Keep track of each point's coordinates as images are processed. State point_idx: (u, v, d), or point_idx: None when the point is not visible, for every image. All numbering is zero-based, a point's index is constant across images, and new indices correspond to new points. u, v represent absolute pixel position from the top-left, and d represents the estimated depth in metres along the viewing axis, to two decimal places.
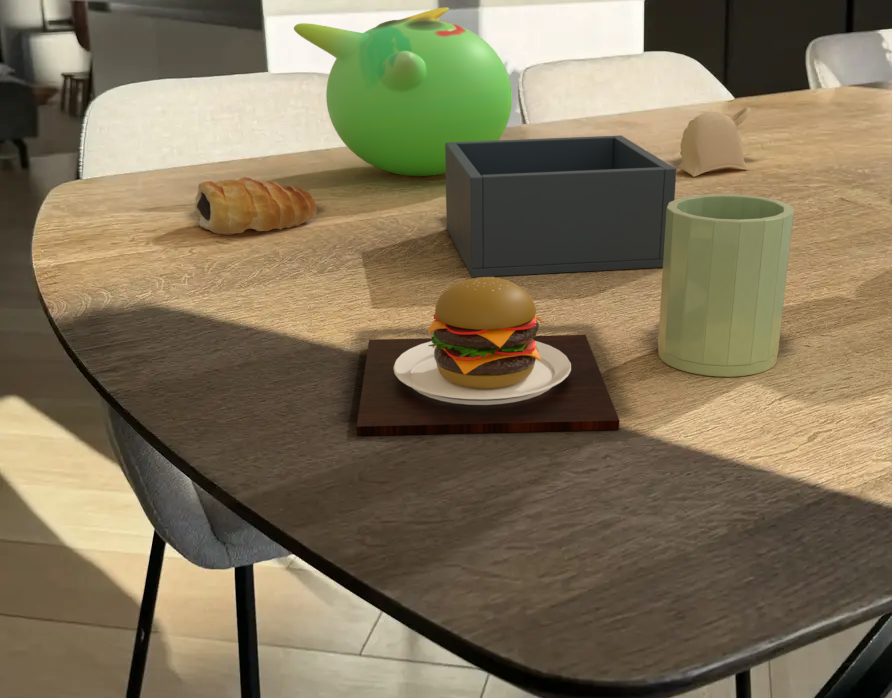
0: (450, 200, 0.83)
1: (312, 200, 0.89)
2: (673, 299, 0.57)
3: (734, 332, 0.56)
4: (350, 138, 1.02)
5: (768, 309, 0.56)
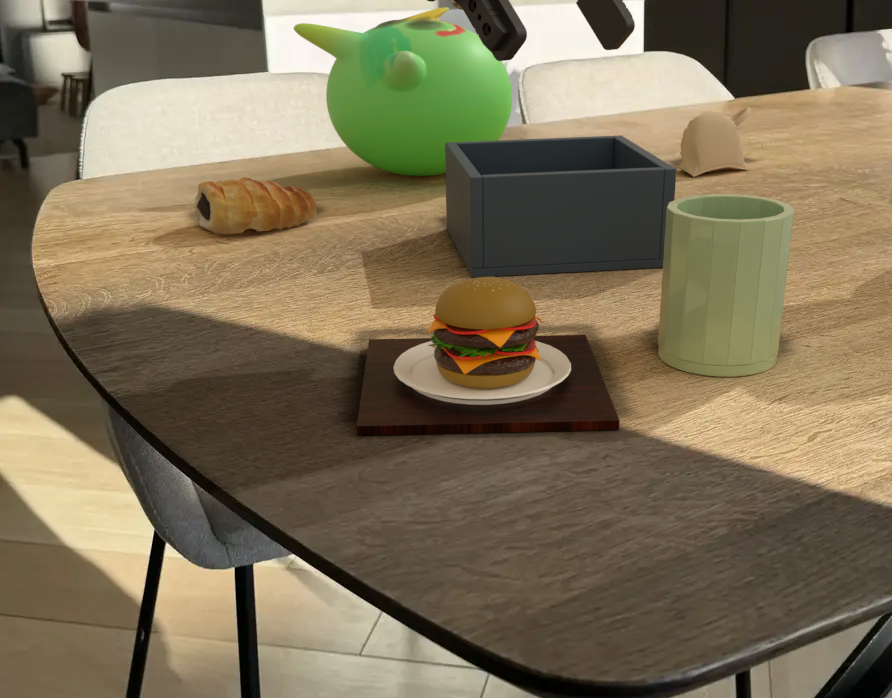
0: (450, 200, 0.83)
1: (312, 200, 0.89)
2: (673, 299, 0.57)
3: (734, 332, 0.56)
4: (350, 138, 1.02)
5: (768, 309, 0.56)
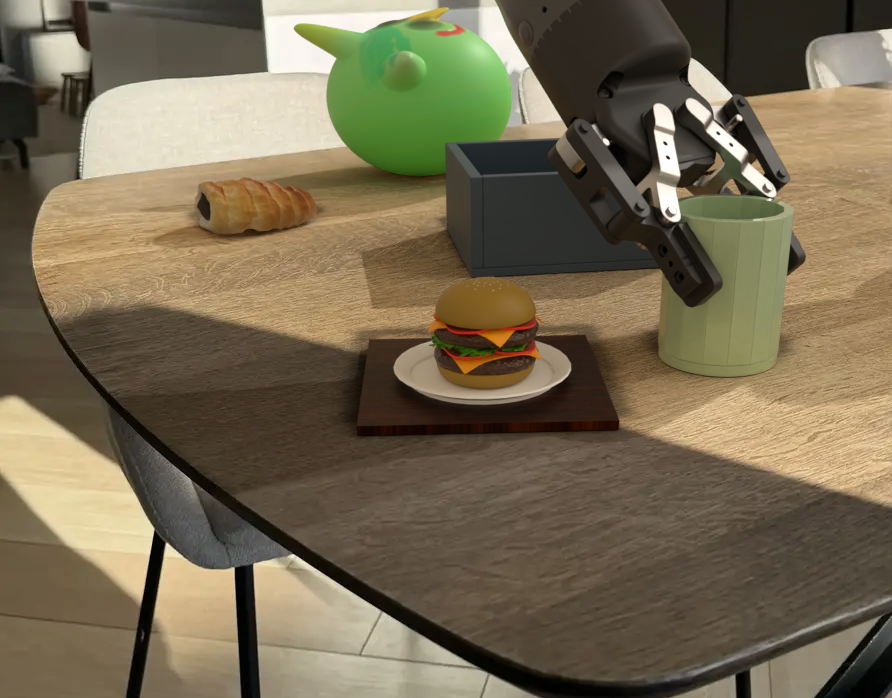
0: (450, 200, 0.83)
1: (312, 200, 0.89)
2: (673, 299, 0.57)
3: (733, 332, 0.56)
4: (350, 138, 1.02)
5: (768, 309, 0.56)
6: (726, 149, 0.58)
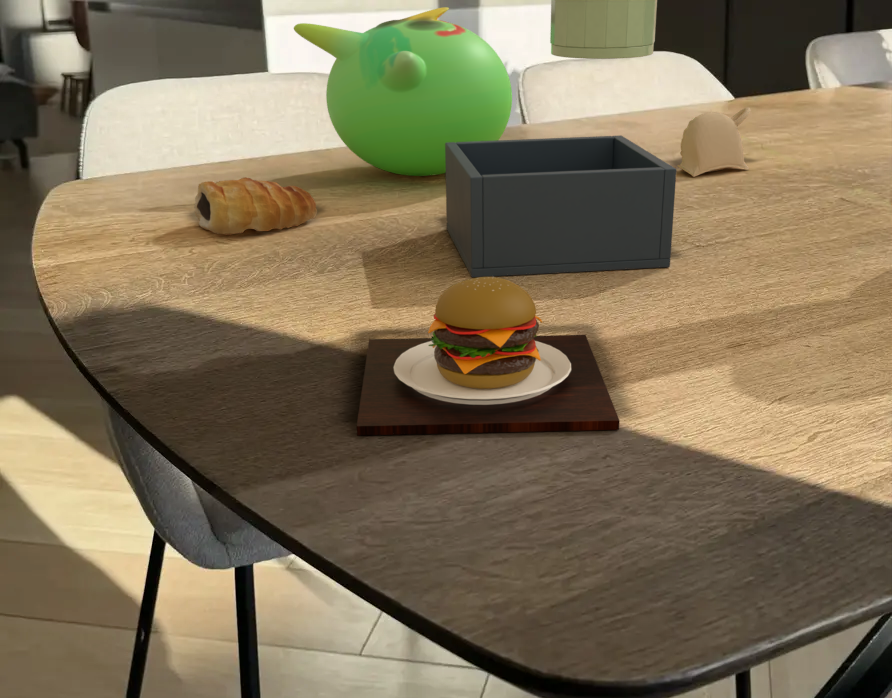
0: (450, 200, 0.83)
1: (312, 200, 0.89)
2: None
3: (610, 15, 0.64)
4: (350, 138, 1.02)
5: None
6: None
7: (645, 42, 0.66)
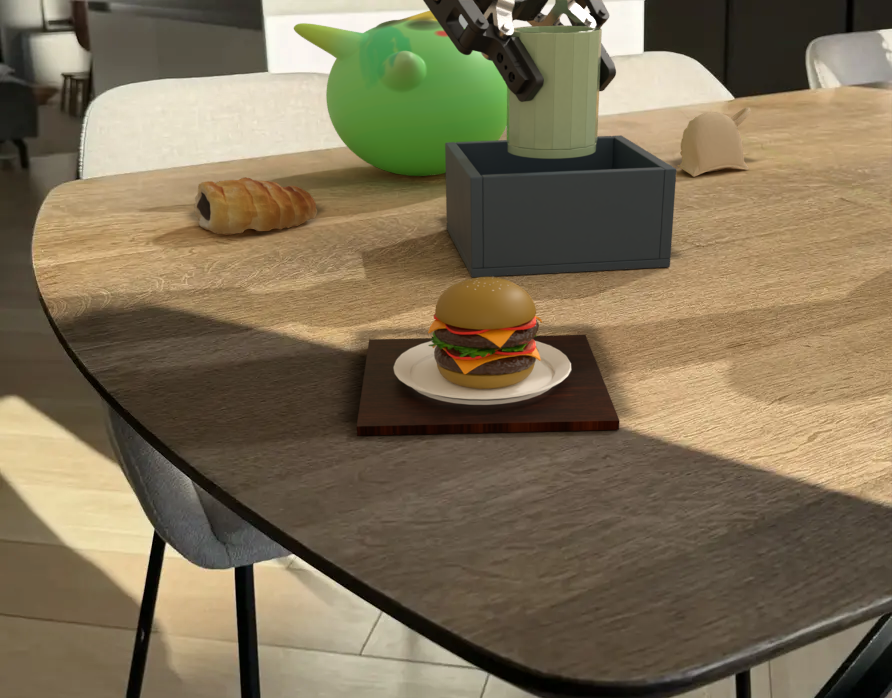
0: (450, 200, 0.83)
1: (312, 200, 0.89)
2: (513, 100, 0.75)
3: (555, 122, 0.74)
4: (350, 138, 1.02)
5: (582, 105, 0.74)
6: None
7: (587, 144, 0.76)
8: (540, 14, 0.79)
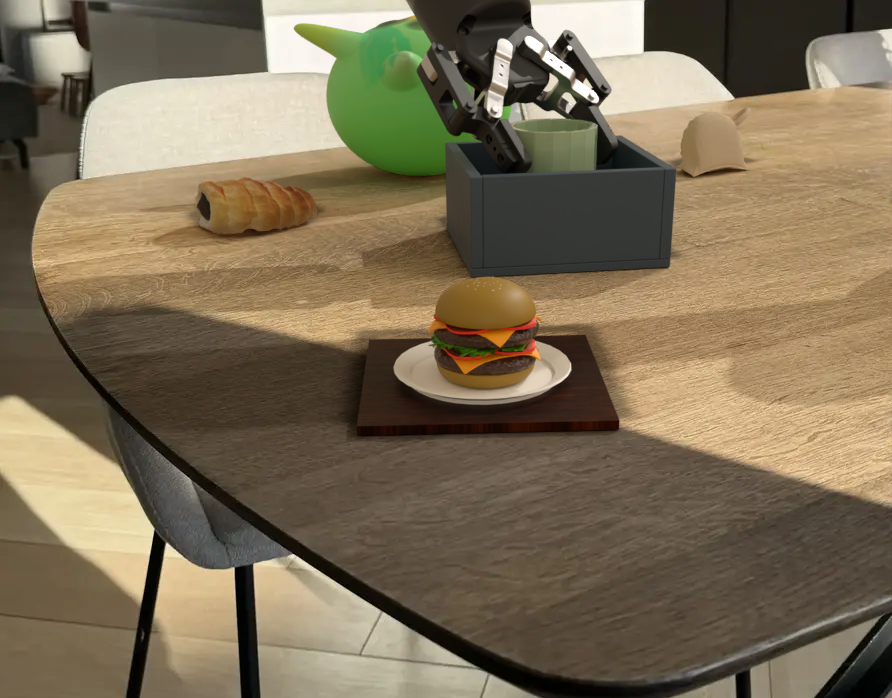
0: (450, 200, 0.83)
1: (312, 200, 0.89)
2: None
3: None
4: (350, 138, 1.02)
5: None
6: (558, 71, 0.79)
7: None
8: (542, 91, 0.82)
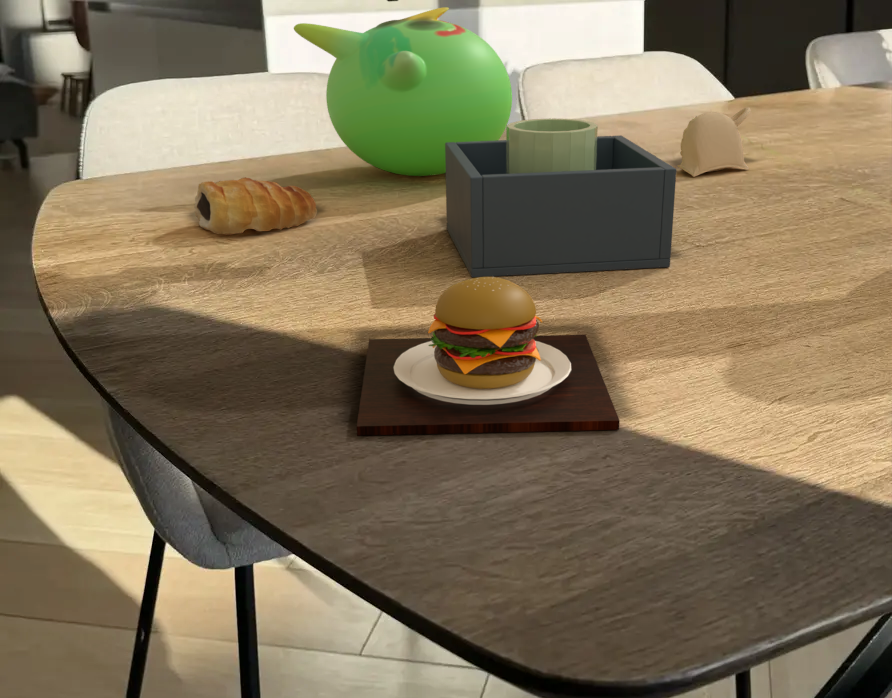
0: (450, 200, 0.83)
1: (312, 200, 0.89)
2: None
3: None
4: (350, 138, 1.02)
5: None
6: None
7: None
8: None
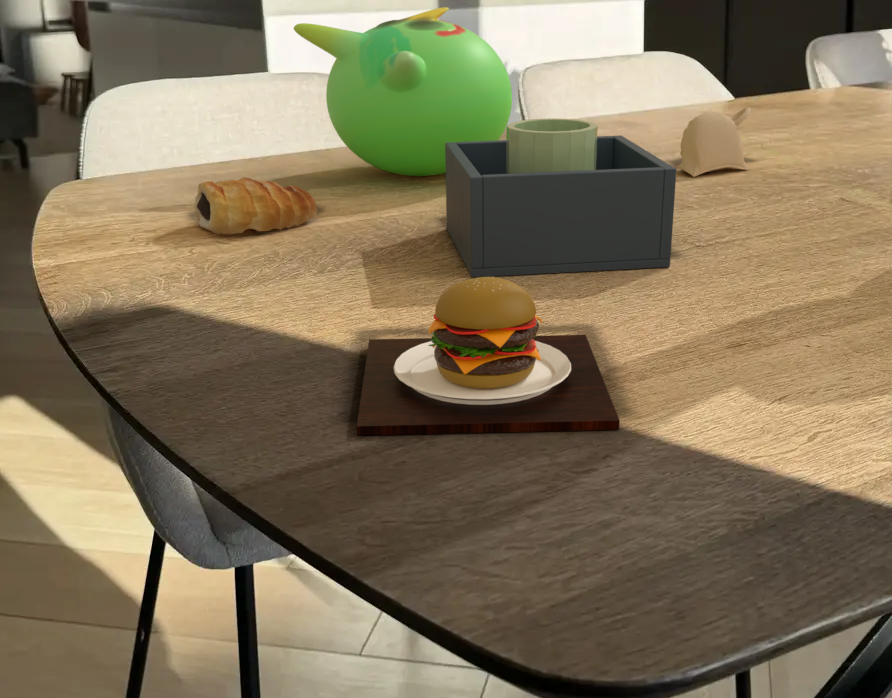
0: (450, 200, 0.83)
1: (312, 200, 0.89)
2: None
3: None
4: (350, 138, 1.02)
5: None
6: None
7: None
8: None
